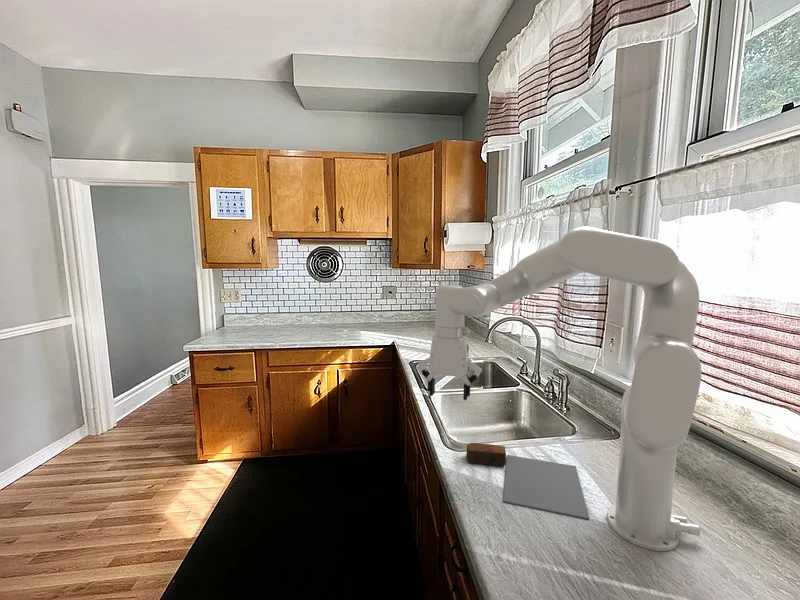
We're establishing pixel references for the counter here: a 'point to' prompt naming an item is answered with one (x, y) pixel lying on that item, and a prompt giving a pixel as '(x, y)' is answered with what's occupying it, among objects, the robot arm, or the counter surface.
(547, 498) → the mat
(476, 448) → the brick
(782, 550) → the counter surface
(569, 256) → the robot arm
